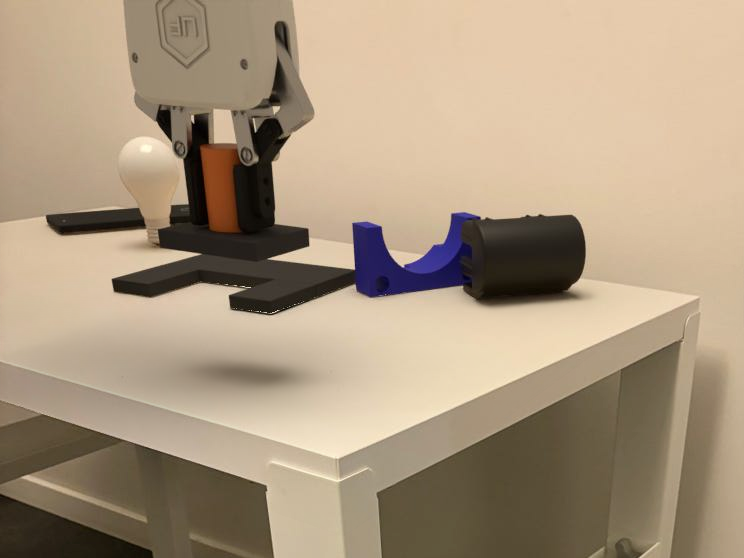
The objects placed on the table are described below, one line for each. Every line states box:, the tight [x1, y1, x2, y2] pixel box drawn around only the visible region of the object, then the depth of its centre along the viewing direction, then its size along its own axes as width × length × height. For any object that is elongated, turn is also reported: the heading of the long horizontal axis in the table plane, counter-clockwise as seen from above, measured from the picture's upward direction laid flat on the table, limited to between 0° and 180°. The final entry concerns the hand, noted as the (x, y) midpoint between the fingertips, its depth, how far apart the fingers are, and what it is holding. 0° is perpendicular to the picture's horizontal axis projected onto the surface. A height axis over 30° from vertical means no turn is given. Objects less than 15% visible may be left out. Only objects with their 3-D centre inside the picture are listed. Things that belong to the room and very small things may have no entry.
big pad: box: [111, 254, 356, 313], centre depth 94 cm, size 18×14×1 cm
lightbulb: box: [117, 135, 181, 247], centre depth 107 cm, size 6×6×11 cm
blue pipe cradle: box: [351, 211, 482, 298], centre depth 94 cm, size 12×4×6 cm, turn 122°
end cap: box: [460, 213, 587, 300], centre depth 90 cm, size 10×7×7 cm
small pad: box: [158, 142, 311, 262], centre depth 65 cm, size 8×6×6 cm
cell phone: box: [45, 203, 191, 234], centre depth 122 cm, size 9×18×1 cm, turn 121°
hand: (233, 222), depth 66 cm, fingers closed on small pad, 3 cm apart
